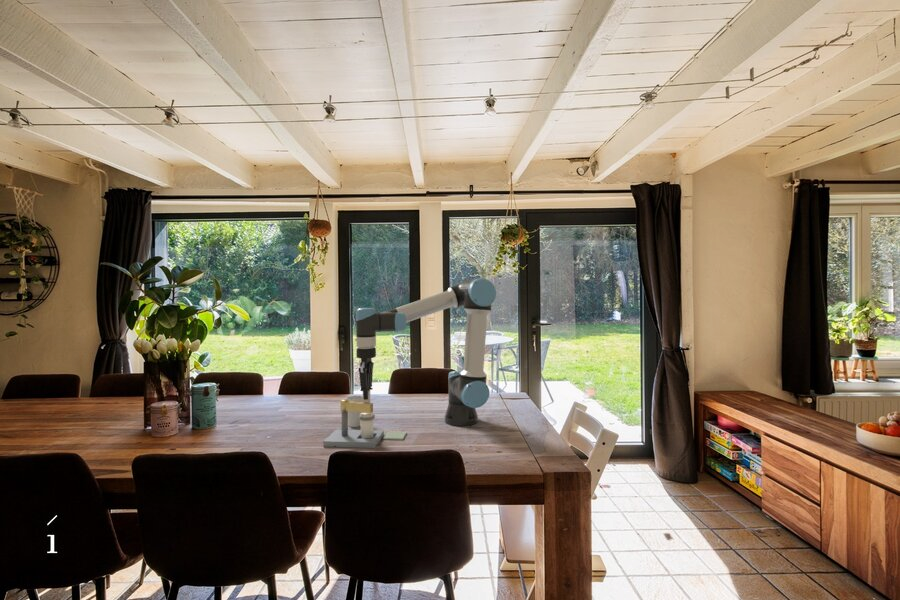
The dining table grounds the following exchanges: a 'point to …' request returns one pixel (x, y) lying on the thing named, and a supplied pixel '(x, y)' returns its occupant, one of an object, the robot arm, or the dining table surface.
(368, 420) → the cream banded cylinder
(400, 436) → the mat
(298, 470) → the dining table surface
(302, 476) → the dining table surface
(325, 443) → the socket board
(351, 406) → the clip
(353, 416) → the cup
